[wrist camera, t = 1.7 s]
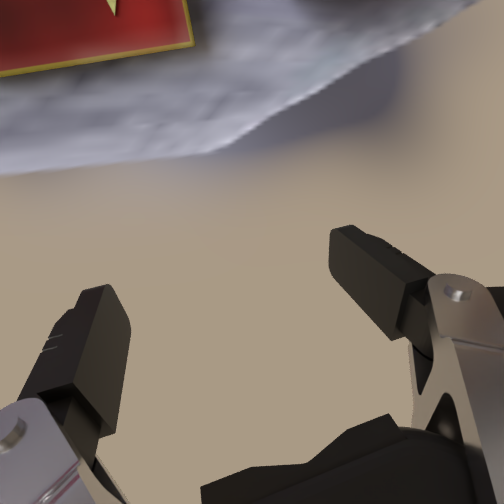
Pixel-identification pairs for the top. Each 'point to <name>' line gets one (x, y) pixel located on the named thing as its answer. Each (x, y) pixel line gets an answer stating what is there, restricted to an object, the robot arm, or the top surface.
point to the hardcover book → (87, 31)
